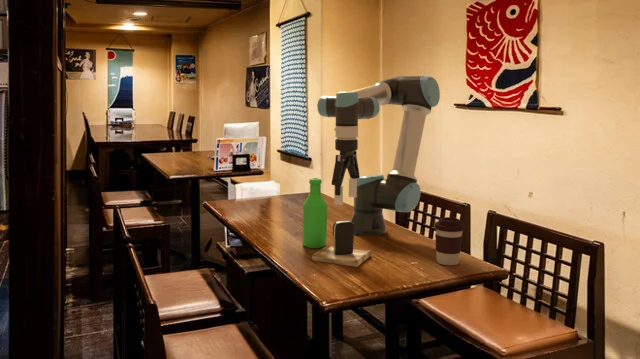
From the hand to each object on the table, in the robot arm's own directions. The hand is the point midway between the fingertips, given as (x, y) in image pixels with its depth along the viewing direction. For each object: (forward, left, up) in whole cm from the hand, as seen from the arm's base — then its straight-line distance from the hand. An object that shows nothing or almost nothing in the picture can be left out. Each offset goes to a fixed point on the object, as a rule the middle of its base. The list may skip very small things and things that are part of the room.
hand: (345, 200), depth 196 cm
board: (+2, 0, -20) cm, 20 cm away
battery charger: (+2, 0, -18) cm, 18 cm away
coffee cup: (-9, +34, -20) cm, 40 cm away
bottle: (-8, -15, -20) cm, 26 cm away
